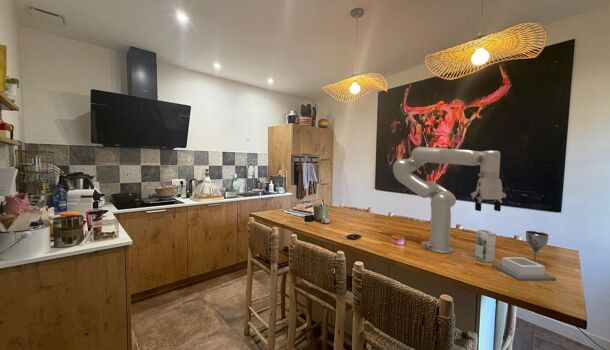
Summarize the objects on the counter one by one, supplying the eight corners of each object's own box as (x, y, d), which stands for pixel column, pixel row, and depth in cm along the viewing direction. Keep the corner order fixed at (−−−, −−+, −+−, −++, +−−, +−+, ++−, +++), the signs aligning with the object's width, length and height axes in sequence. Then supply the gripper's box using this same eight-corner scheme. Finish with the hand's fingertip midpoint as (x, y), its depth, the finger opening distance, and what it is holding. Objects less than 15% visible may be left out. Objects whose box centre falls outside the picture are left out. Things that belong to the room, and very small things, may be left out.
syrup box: (474, 258, 125) (476, 229, 125) (485, 257, 126) (487, 229, 125) (483, 262, 120) (485, 233, 119) (494, 262, 120) (496, 233, 119)
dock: (518, 280, 102) (519, 268, 101) (491, 266, 116) (492, 255, 115) (555, 280, 102) (556, 268, 102) (524, 266, 116) (525, 255, 116)
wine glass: (548, 268, 114) (550, 236, 113) (525, 264, 118) (528, 233, 118) (543, 262, 121) (545, 232, 120) (522, 259, 125) (524, 229, 124)
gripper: (477, 176, 116) (476, 212, 117) (513, 176, 117) (511, 212, 118) (466, 175, 124) (465, 209, 125) (500, 175, 125) (498, 209, 125)
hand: (487, 210), depth 121 cm, fingers open, 9 cm apart
